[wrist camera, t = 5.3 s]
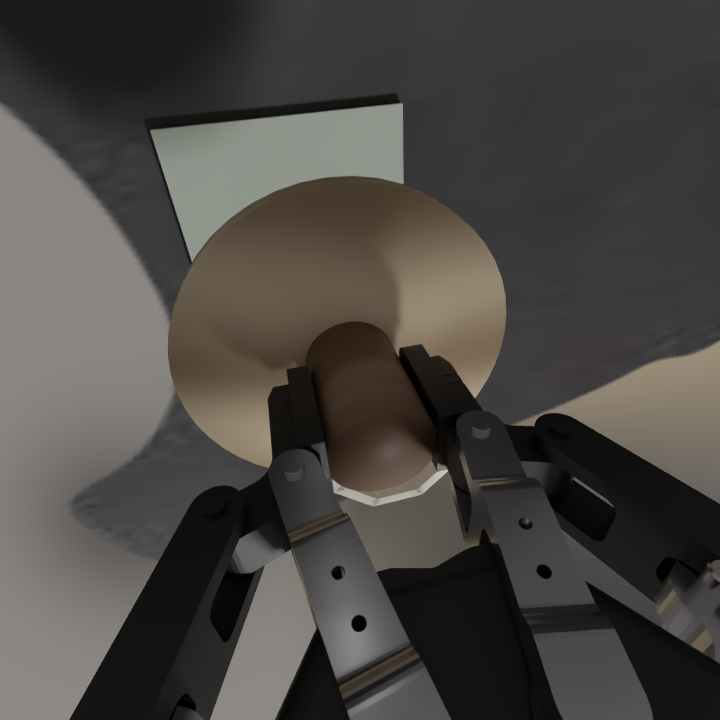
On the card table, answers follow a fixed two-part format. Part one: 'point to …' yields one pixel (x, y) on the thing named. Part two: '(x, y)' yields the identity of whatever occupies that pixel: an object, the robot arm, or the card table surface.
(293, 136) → the mat
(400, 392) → the lid
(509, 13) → the card table surface
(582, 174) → the card table surface
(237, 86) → the card table surface
